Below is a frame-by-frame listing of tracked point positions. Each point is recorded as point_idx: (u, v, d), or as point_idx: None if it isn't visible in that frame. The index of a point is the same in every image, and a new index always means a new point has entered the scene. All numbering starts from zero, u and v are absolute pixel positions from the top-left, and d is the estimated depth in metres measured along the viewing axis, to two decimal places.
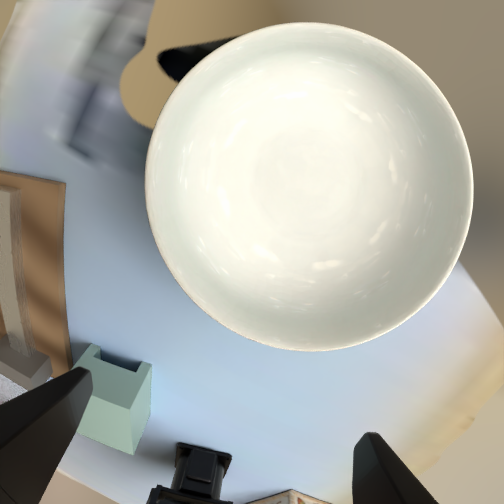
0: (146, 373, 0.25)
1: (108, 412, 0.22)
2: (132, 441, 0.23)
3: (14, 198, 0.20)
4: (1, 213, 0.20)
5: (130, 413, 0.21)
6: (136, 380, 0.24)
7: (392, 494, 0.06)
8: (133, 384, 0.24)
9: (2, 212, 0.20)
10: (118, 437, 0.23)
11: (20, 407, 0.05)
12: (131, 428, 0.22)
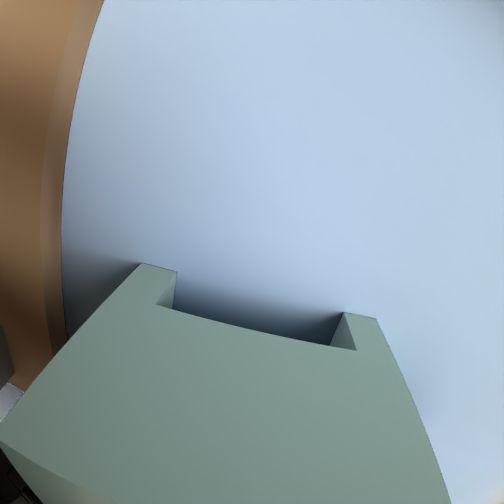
0: (386, 348, 0.07)
1: None
2: None
3: None
4: None
5: None
6: (381, 379, 0.06)
7: None
8: (384, 398, 0.05)
9: None
10: None
11: None
12: None
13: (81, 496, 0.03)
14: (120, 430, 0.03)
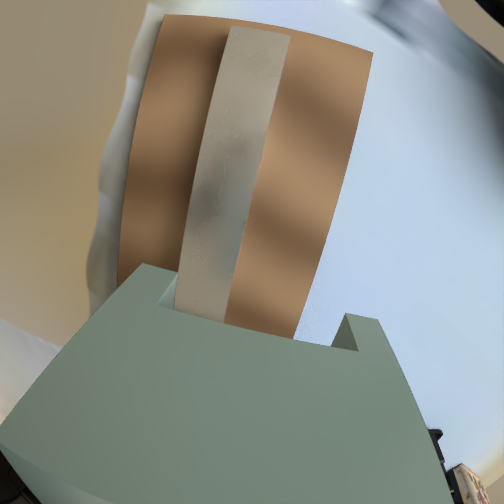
0: (388, 348, 0.07)
1: None
2: None
3: (287, 49, 0.13)
4: (256, 64, 0.13)
5: None
6: (383, 380, 0.06)
7: None
8: (387, 399, 0.05)
9: (260, 63, 0.13)
10: None
11: None
12: None
13: (81, 499, 0.02)
14: (121, 433, 0.03)
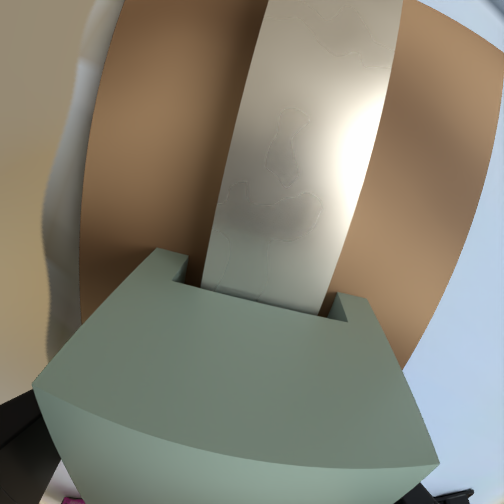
0: (375, 322, 0.08)
1: None
2: None
3: None
4: (341, 36, 0.05)
5: None
6: (370, 345, 0.07)
7: None
8: (373, 360, 0.06)
9: (350, 35, 0.05)
10: None
11: (20, 407, 0.05)
12: None
13: (109, 437, 0.04)
14: (148, 376, 0.04)
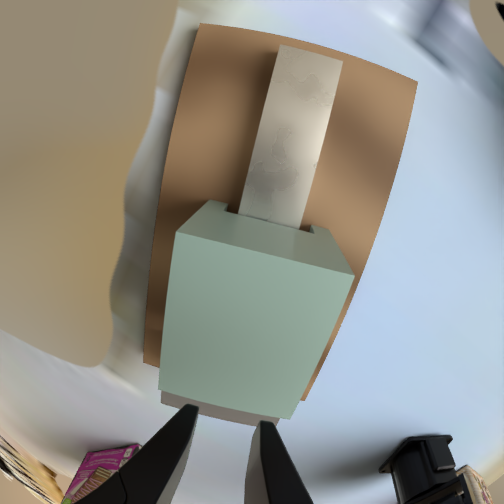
0: (331, 236, 0.15)
1: (290, 300, 0.11)
2: None
3: None
4: (308, 90, 0.13)
5: None
6: (325, 241, 0.14)
7: (264, 492, 0.06)
8: (325, 245, 0.13)
9: (312, 89, 0.13)
10: (278, 378, 0.13)
11: (147, 465, 0.05)
12: None
13: (209, 253, 0.11)
14: (224, 233, 0.12)
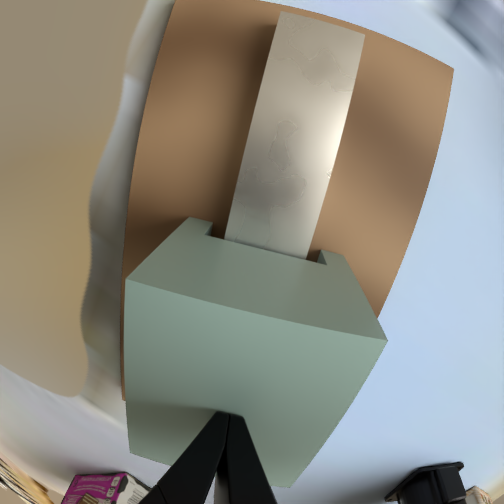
0: (348, 267, 0.11)
1: (294, 373, 0.08)
2: None
3: None
4: (319, 71, 0.09)
5: None
6: (341, 278, 0.10)
7: (227, 486, 0.06)
8: (342, 285, 0.10)
9: (325, 69, 0.09)
10: (275, 453, 0.09)
11: (186, 476, 0.05)
12: None
13: (175, 311, 0.07)
14: (198, 276, 0.08)
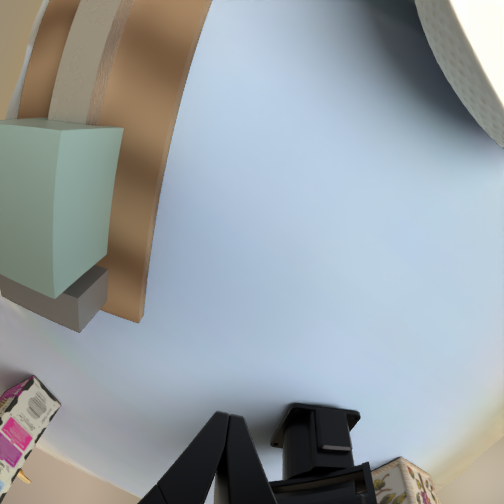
0: (111, 127, 0.14)
1: (25, 160, 0.11)
2: (54, 249, 0.12)
3: None
4: (97, 16, 0.12)
5: (60, 146, 0.10)
6: (91, 126, 0.13)
7: (226, 486, 0.06)
8: (84, 127, 0.13)
9: (100, 14, 0.12)
10: (32, 243, 0.12)
11: (186, 476, 0.05)
12: (55, 200, 0.11)
13: None
14: (7, 122, 0.11)
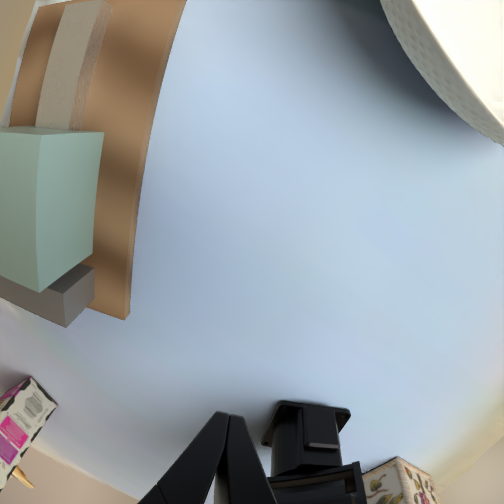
0: (91, 132, 0.15)
1: (11, 163, 0.11)
2: (37, 245, 0.13)
3: (104, 10, 0.13)
4: (77, 28, 0.13)
5: (41, 150, 0.11)
6: (72, 131, 0.14)
7: (226, 486, 0.06)
8: (65, 132, 0.13)
9: (79, 26, 0.13)
10: (18, 240, 0.13)
11: (186, 476, 0.05)
12: (37, 199, 0.12)
13: None
14: None
